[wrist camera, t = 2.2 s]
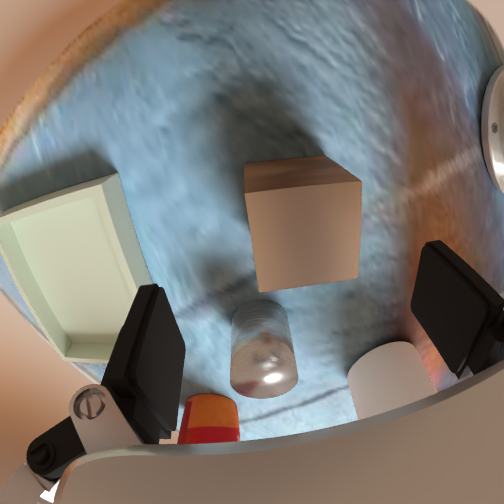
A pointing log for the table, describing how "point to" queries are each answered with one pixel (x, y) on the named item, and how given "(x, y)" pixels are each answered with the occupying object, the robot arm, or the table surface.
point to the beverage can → (388, 379)
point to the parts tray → (76, 265)
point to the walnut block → (303, 221)
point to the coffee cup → (209, 420)
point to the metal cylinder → (262, 351)
